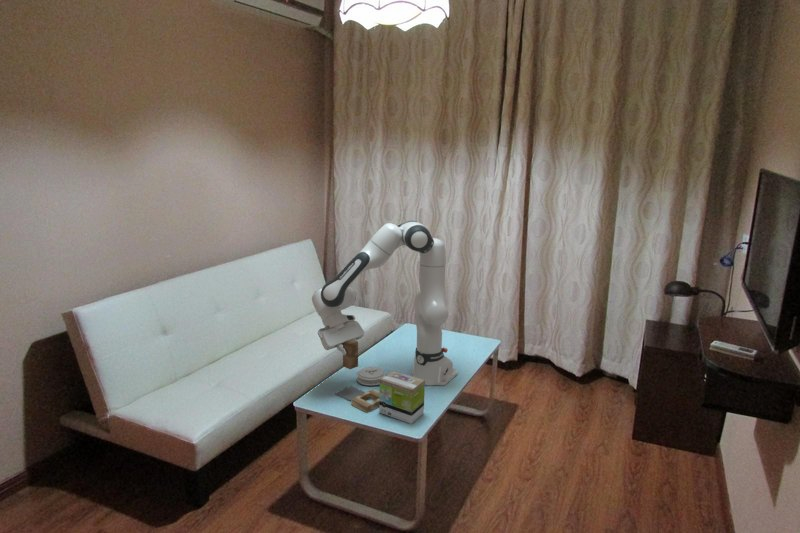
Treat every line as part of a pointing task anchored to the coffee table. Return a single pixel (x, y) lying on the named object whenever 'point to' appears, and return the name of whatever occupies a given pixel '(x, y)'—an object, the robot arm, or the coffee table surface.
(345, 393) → the rubber pad
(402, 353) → the coffee table surface
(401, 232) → the robot arm
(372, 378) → the grey round disc
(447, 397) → the coffee table surface
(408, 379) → the tea box
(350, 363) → the walnut block
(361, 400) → the pocket board
